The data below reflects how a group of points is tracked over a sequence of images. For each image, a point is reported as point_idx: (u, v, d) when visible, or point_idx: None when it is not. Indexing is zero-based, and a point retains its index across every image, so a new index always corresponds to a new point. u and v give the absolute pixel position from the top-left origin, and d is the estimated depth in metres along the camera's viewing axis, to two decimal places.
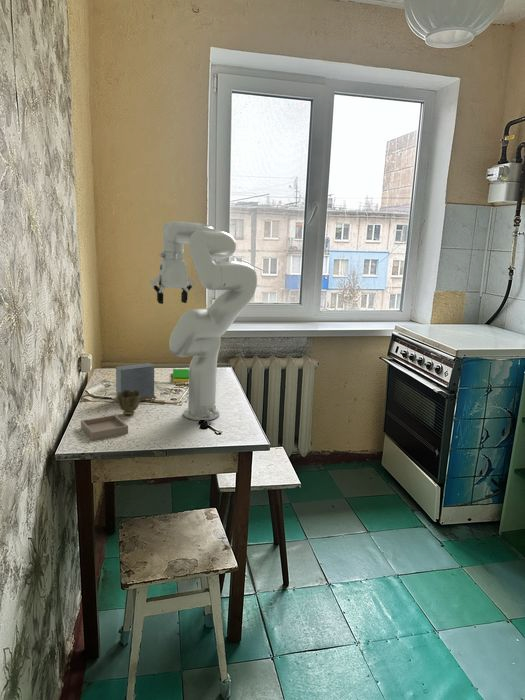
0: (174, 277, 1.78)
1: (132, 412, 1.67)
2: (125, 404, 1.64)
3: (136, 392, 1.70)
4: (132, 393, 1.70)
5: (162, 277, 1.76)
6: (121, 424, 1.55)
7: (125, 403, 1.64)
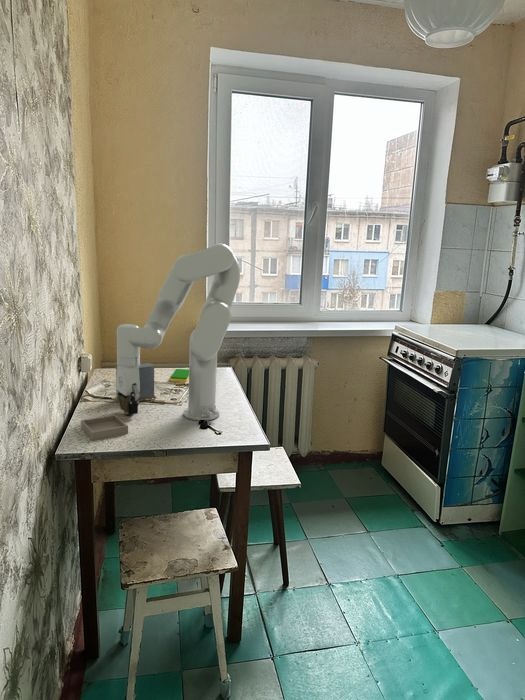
0: (120, 382, 1.64)
1: None
2: (125, 404, 1.64)
3: None
4: (132, 393, 1.70)
5: None
6: (121, 424, 1.55)
7: (124, 403, 1.64)
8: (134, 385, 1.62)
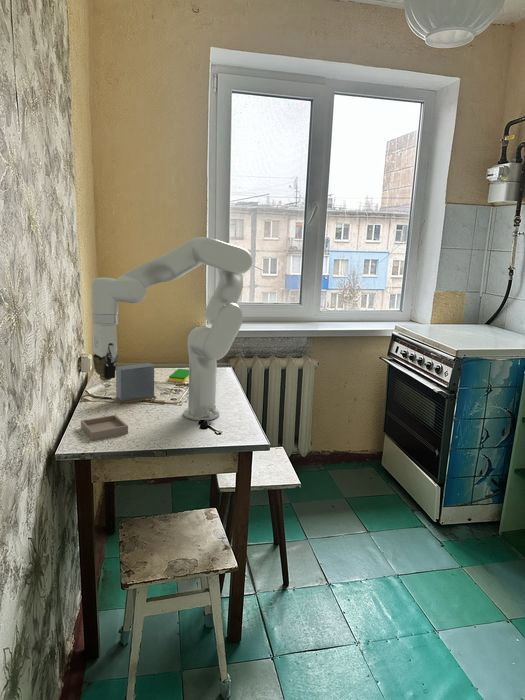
0: (95, 342, 1.48)
1: None
2: (100, 367, 1.47)
3: None
4: None
5: None
6: (121, 424, 1.55)
7: (100, 366, 1.47)
8: (111, 345, 1.45)
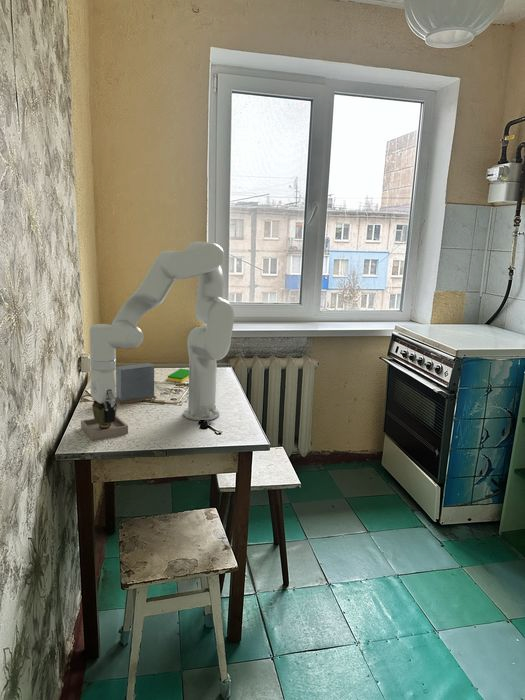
0: (93, 388, 1.49)
1: (108, 425, 1.52)
2: (100, 417, 1.49)
3: None
4: None
5: None
6: (121, 424, 1.55)
7: (100, 416, 1.49)
8: (109, 390, 1.46)
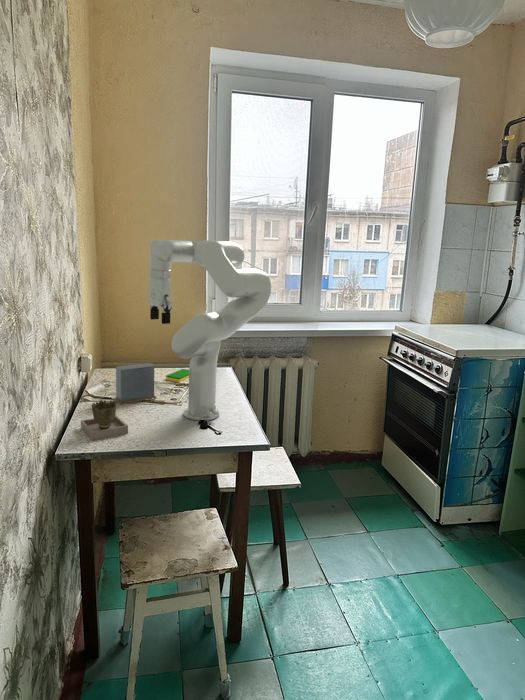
0: (152, 294, 1.75)
1: (108, 425, 1.52)
2: (100, 417, 1.49)
3: (112, 403, 1.54)
4: (108, 404, 1.55)
5: None
6: (121, 424, 1.55)
7: (99, 416, 1.49)
8: (166, 295, 1.73)
